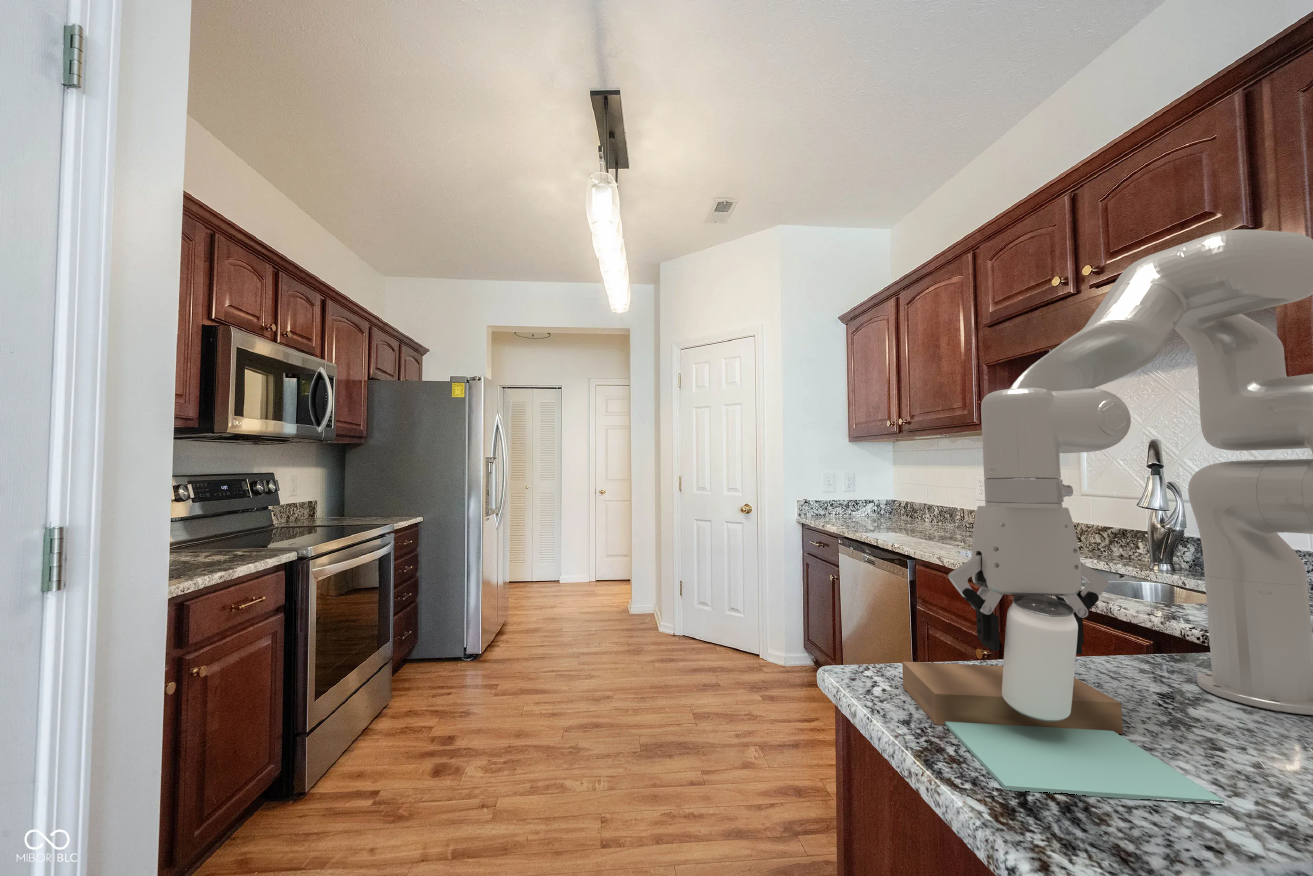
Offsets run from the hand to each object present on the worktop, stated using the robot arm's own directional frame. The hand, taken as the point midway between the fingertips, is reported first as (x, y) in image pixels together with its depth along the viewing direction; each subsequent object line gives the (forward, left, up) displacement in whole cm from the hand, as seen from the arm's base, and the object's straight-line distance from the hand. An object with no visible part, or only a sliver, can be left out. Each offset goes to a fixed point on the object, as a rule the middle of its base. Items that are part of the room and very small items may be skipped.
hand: (1029, 648), depth 63 cm
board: (0, -7, -9) cm, 12 cm away
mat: (0, +6, -9) cm, 11 cm away
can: (0, 0, -6) cm, 6 cm away
